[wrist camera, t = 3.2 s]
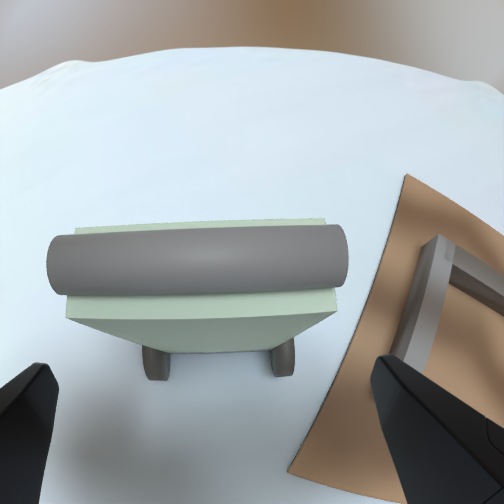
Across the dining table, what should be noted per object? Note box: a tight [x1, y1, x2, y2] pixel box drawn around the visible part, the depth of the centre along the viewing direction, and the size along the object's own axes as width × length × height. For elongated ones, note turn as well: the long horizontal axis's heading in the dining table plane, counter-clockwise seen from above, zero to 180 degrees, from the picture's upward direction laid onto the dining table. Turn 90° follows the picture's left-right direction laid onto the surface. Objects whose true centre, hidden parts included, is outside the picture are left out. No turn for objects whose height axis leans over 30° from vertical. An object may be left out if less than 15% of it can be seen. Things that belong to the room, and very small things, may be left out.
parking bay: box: [287, 174, 504, 504], centre depth 16 cm, size 22×20×3 cm
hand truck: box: [46, 218, 348, 381], centre depth 12 cm, size 6×7×13 cm
